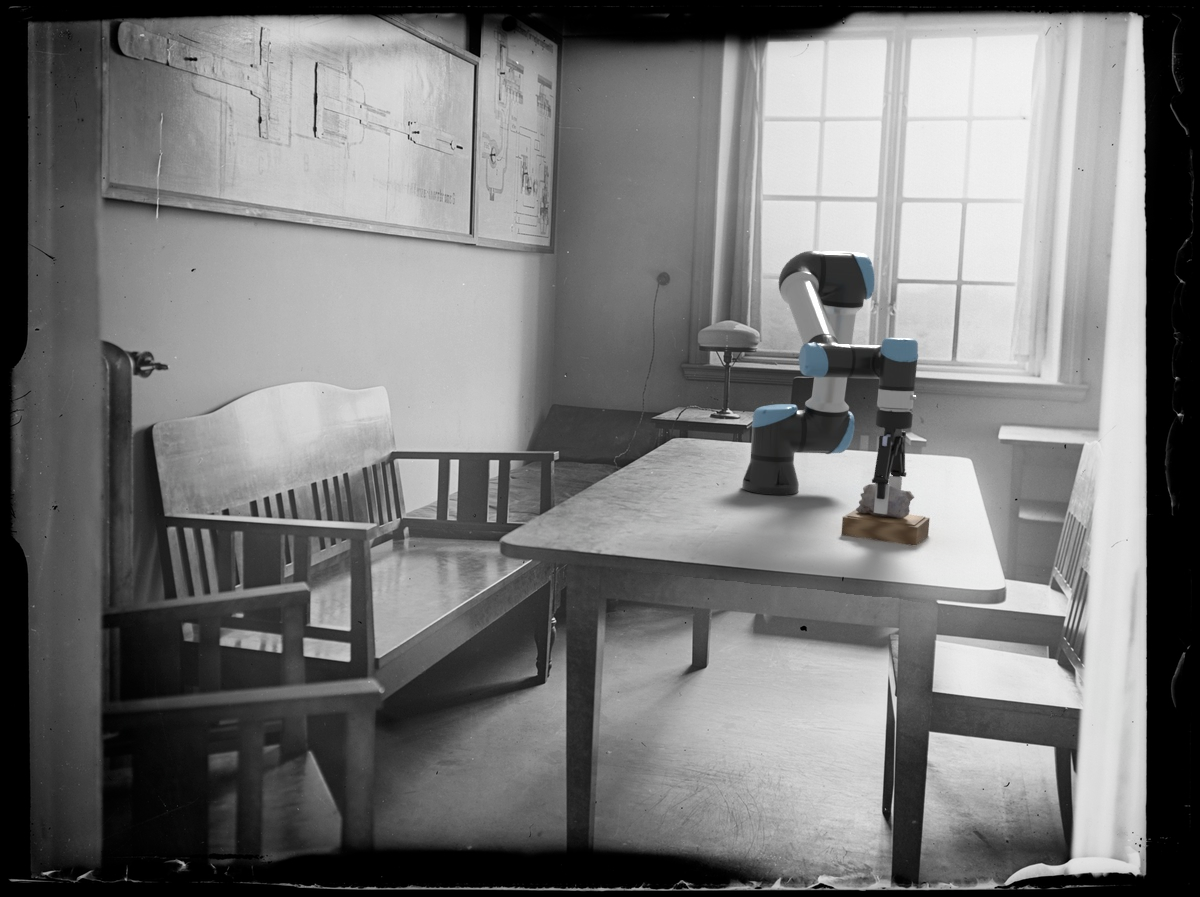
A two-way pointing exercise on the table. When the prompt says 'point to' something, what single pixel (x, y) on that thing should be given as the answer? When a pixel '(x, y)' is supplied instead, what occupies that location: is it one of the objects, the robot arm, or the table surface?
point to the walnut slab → (886, 527)
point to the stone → (896, 502)
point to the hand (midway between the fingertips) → (887, 509)
